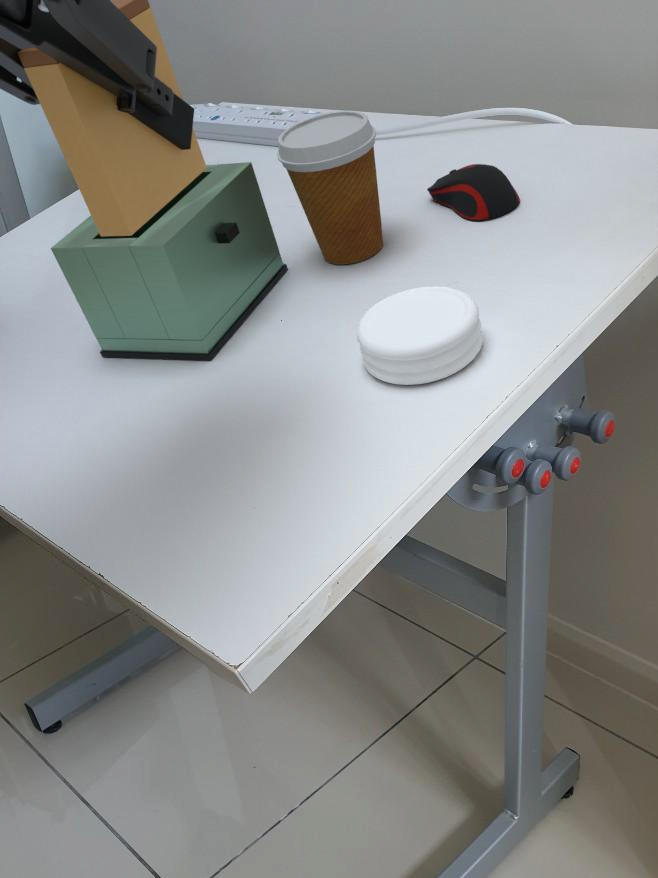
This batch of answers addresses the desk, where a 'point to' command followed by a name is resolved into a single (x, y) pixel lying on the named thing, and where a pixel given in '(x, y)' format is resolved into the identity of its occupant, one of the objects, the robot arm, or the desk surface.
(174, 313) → the toaster
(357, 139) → the disposable coffee cup
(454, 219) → the desk surface
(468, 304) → the white round container
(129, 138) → the toast
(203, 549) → the desk surface
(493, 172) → the computer mouse
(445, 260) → the desk surface
